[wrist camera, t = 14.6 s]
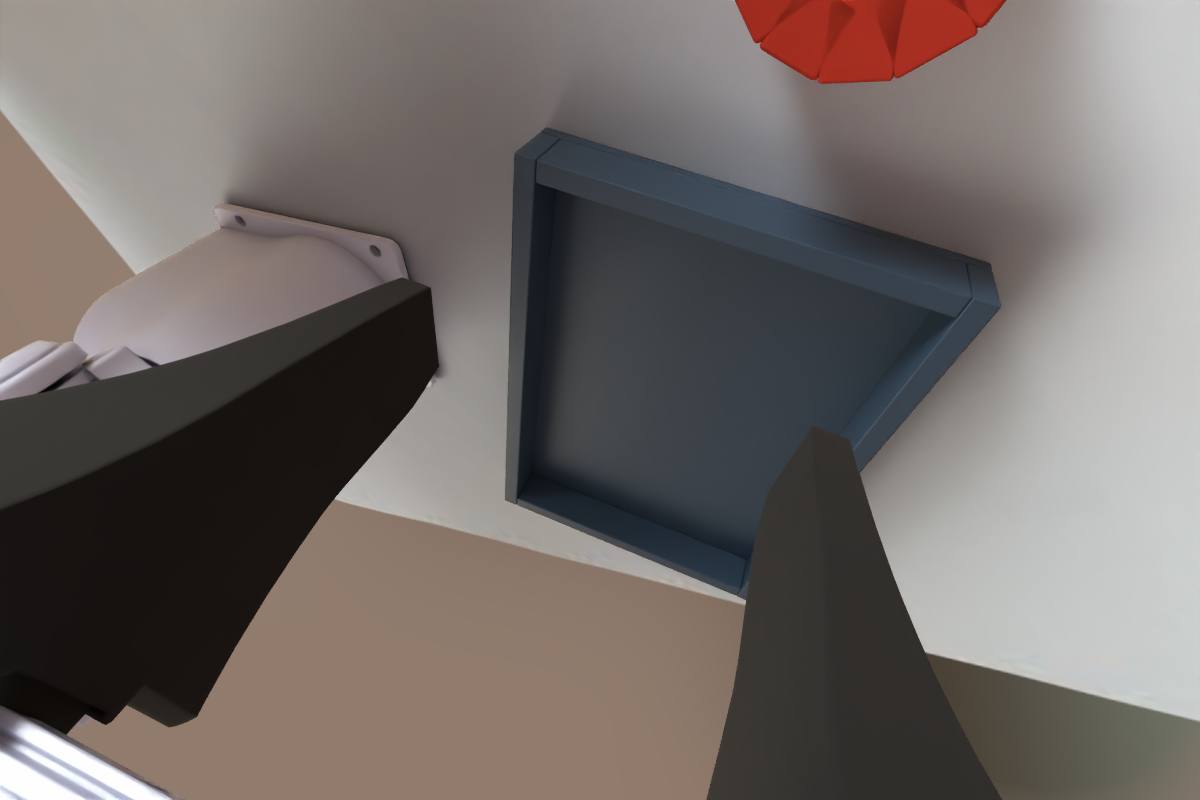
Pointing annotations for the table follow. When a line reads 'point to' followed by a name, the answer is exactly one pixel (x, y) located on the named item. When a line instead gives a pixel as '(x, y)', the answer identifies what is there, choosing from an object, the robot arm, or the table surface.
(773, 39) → the ring
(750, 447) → the tray
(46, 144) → the table surface
